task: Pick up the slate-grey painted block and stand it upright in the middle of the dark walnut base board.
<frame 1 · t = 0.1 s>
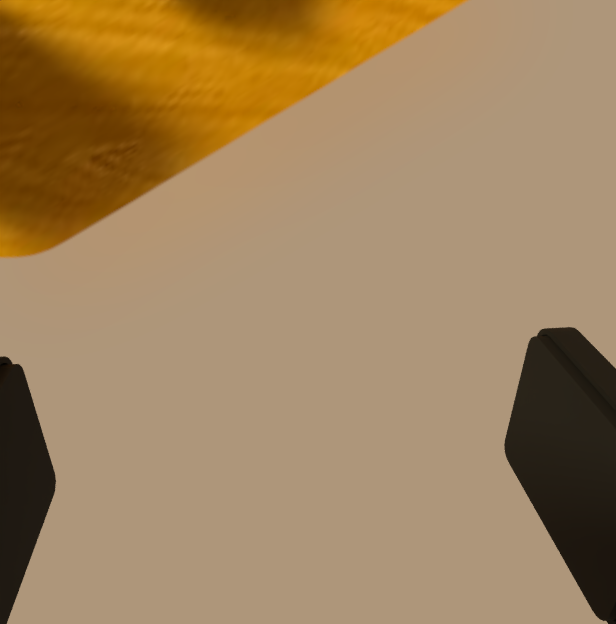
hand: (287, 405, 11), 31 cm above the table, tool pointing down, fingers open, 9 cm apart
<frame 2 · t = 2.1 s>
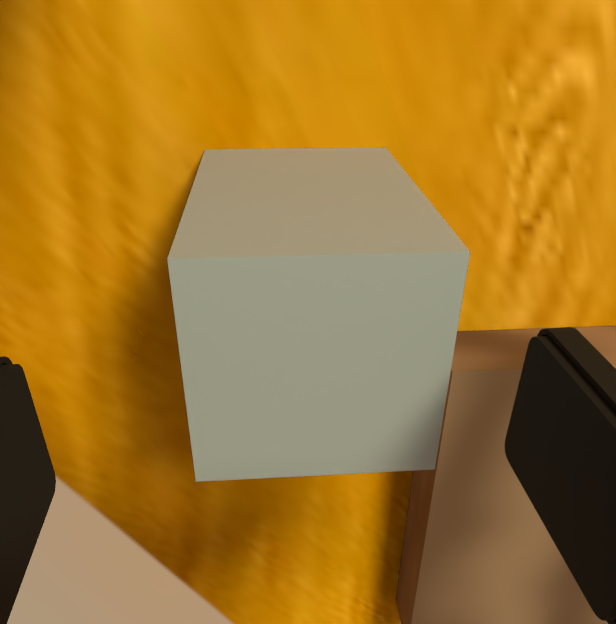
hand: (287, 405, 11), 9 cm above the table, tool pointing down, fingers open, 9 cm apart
walnut base: (586, 477, 25), on the table
slate block: (296, 233, 18), on the table
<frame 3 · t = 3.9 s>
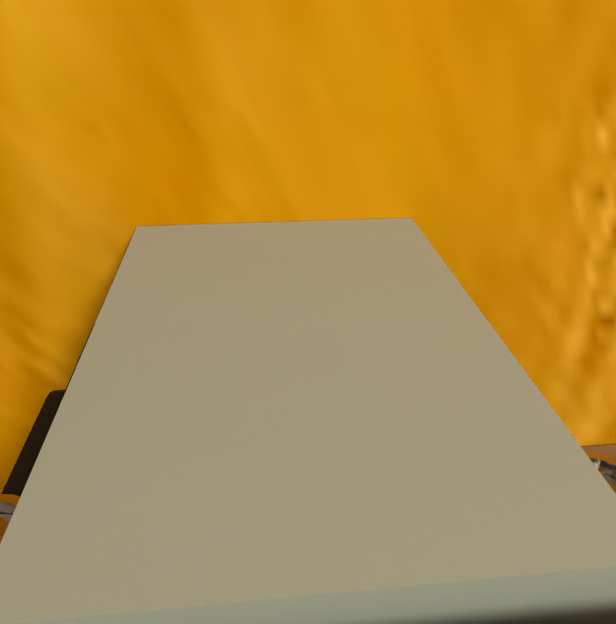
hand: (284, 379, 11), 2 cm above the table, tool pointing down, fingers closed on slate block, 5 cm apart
slate block: (279, 337, 13), on the table, touching gripper
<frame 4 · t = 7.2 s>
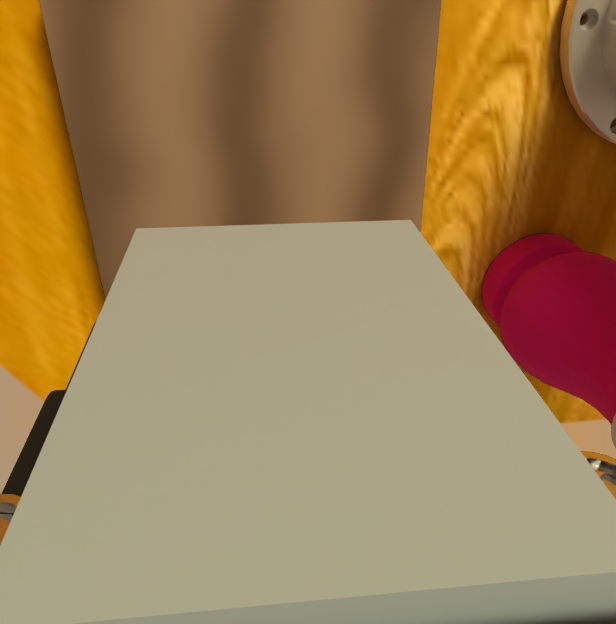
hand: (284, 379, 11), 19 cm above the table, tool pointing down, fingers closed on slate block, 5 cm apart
pepper mill: (529, 279, 34), on the table
walnut base: (255, 160, 28), on the table
slate block: (279, 339, 13), point 18 cm above the table, touching gripper
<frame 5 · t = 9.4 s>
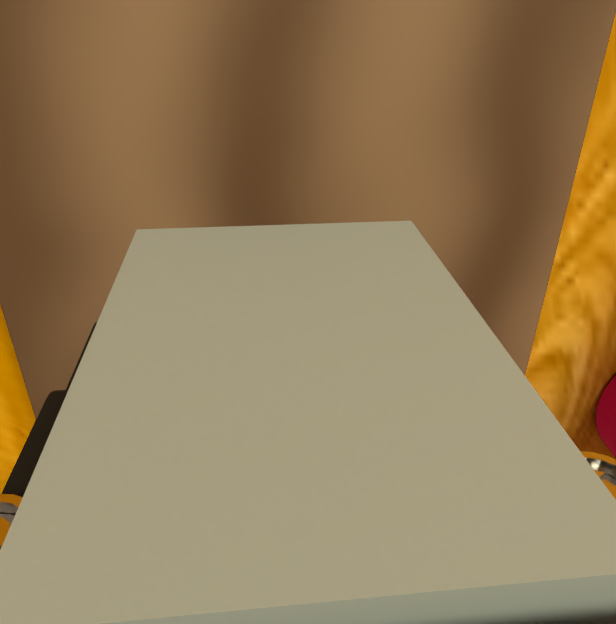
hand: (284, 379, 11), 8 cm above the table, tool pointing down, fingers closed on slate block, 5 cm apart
walnut base: (280, 228, 18), on the table
slate block: (279, 340, 13), point 6 cm above the table, touching gripper
when the fingers open (5 cm above the table, at t = 10.8 s): slate block drops 1 cm, resting on walnut base.
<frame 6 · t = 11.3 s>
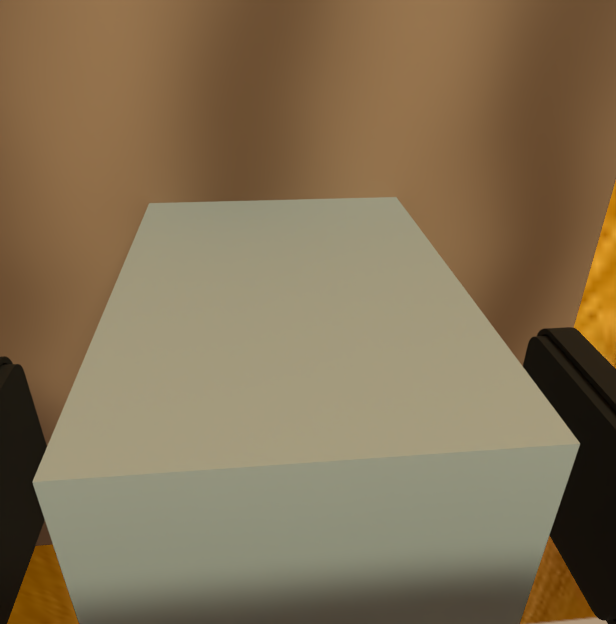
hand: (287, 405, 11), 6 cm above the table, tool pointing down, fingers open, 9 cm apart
walnut base: (271, 263, 16), on the table
slate block: (277, 307, 14), point 2 cm above the table, touching walnut base
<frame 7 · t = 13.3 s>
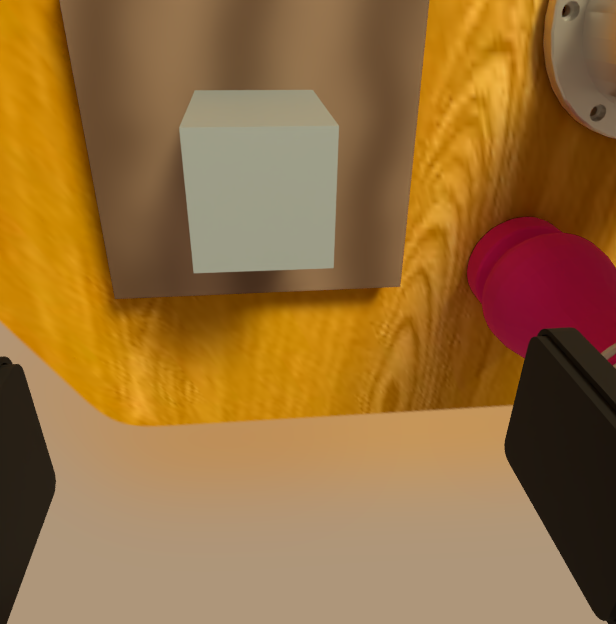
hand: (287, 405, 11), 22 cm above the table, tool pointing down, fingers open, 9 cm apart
pepper mill: (513, 261, 35), on the table
walnut base: (254, 137, 30), on the table
slate block: (256, 149, 28), point 2 cm above the table, touching walnut base
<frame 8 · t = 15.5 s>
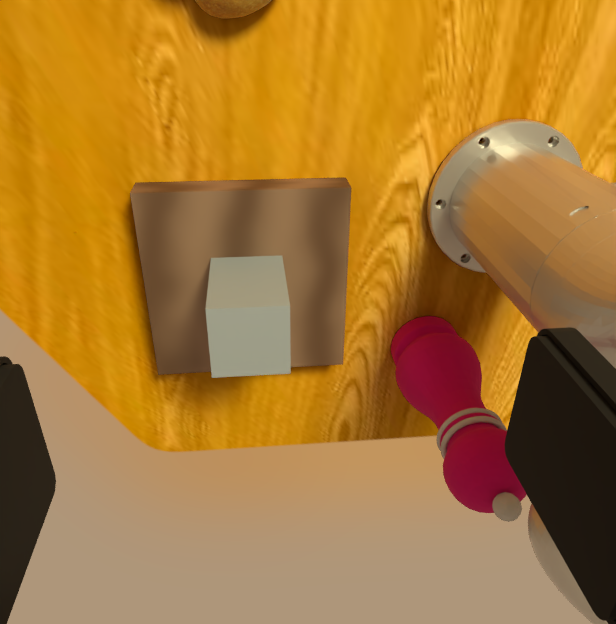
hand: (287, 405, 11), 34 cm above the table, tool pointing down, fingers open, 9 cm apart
pepper mill: (422, 342, 53), on the table
walnut base: (247, 274, 47), on the table
slate block: (248, 288, 45), point 2 cm above the table, touching walnut base
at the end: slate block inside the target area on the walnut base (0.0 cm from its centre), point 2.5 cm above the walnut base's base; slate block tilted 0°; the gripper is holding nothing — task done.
